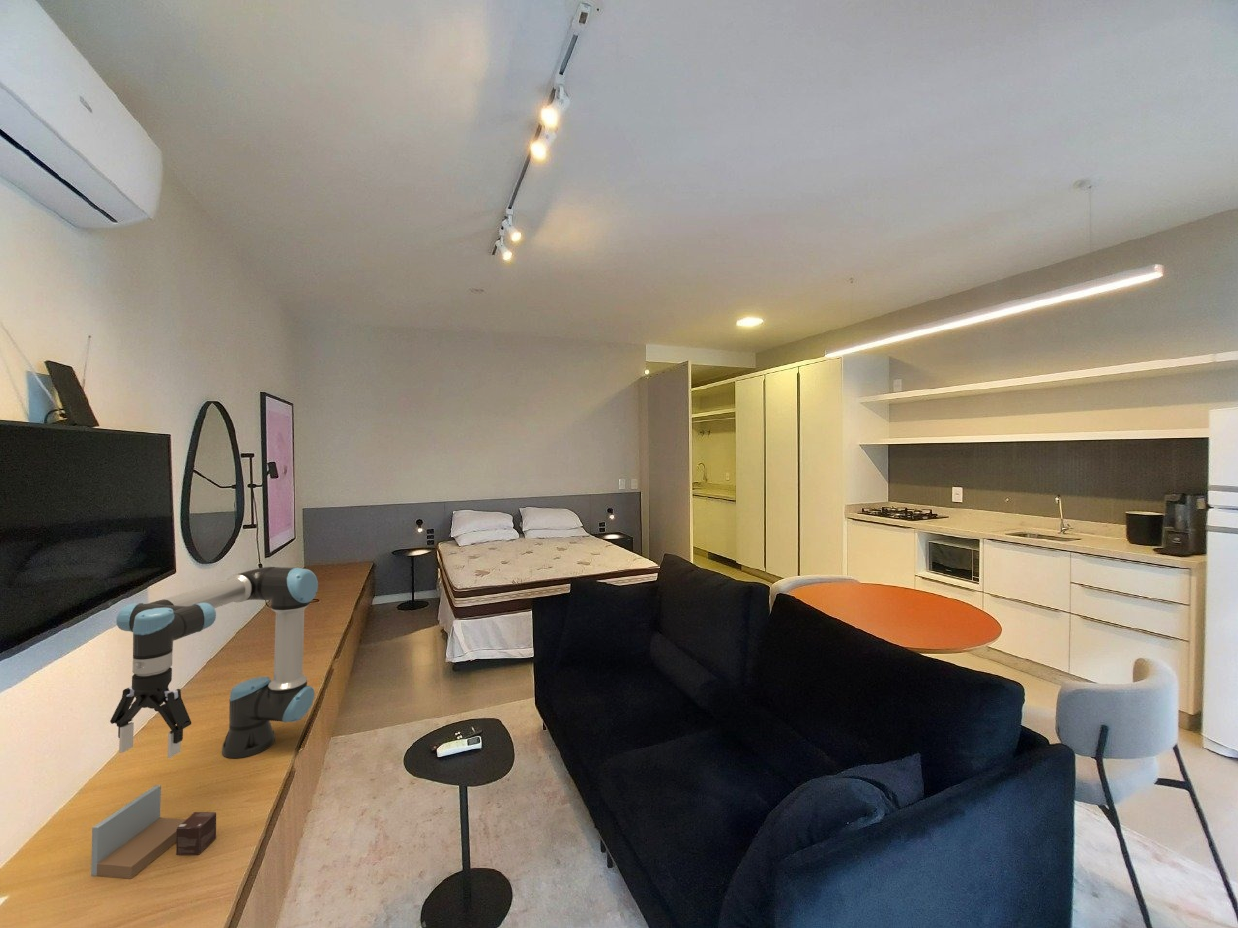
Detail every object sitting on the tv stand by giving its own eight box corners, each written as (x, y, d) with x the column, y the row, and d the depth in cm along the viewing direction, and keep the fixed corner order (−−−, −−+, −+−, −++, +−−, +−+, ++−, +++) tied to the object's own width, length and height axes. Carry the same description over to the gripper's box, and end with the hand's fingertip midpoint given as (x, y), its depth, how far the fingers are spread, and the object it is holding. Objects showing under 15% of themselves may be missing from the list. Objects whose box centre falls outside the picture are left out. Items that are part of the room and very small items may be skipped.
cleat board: (154, 827, 139) (156, 785, 139) (190, 830, 138) (191, 788, 138) (91, 875, 123) (92, 827, 123) (131, 879, 122) (132, 830, 122)
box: (216, 838, 136) (217, 811, 136) (198, 856, 130) (199, 828, 130) (194, 838, 136) (194, 811, 136) (175, 855, 130) (175, 828, 130)
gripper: (92, 673, 125) (89, 756, 125) (182, 680, 123) (180, 765, 123) (124, 661, 133) (122, 740, 133) (210, 668, 130) (207, 748, 131)
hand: (150, 752), depth 128 cm, fingers open, 13 cm apart
